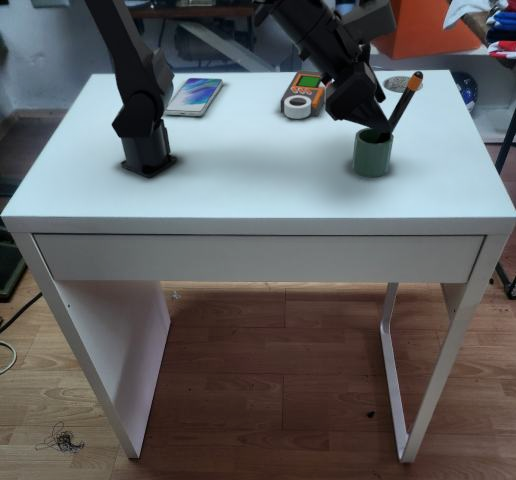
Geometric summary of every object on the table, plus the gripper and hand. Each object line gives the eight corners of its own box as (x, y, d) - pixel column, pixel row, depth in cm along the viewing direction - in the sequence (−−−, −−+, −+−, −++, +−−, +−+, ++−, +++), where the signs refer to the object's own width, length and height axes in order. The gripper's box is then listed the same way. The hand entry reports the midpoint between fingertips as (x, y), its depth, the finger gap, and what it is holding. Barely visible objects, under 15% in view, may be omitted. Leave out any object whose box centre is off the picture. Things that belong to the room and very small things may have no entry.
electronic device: (276, 104, 86) (298, 67, 95) (277, 121, 89) (298, 83, 97) (315, 108, 85) (333, 70, 94) (314, 125, 87) (332, 86, 96)
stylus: (370, 168, 75) (423, 75, 65) (362, 163, 75) (413, 69, 65) (375, 166, 76) (427, 74, 66) (367, 160, 76) (418, 68, 66)
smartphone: (163, 110, 90) (188, 77, 99) (164, 115, 90) (189, 82, 100) (201, 112, 88) (223, 78, 98) (202, 117, 89) (224, 83, 99)
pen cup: (377, 181, 74) (382, 148, 70) (345, 170, 76) (348, 138, 72) (394, 165, 76) (400, 133, 73) (362, 155, 79) (367, 124, 75)
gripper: (366, -9, 52) (448, 102, 59) (359, -51, 64) (428, 45, 72) (288, 72, 58) (371, 163, 66) (295, 20, 71) (364, 102, 78)
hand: (385, 114), depth 70 cm, fingers open, 9 cm apart
